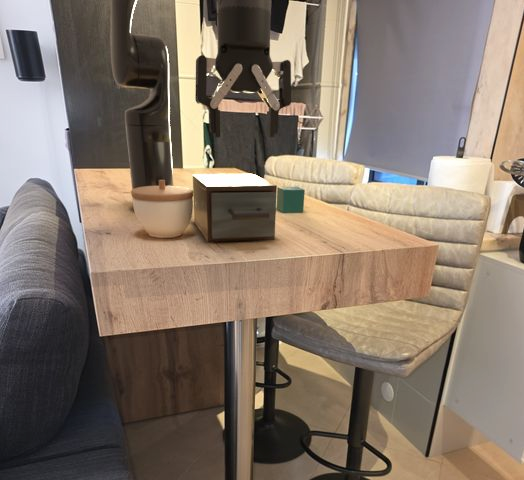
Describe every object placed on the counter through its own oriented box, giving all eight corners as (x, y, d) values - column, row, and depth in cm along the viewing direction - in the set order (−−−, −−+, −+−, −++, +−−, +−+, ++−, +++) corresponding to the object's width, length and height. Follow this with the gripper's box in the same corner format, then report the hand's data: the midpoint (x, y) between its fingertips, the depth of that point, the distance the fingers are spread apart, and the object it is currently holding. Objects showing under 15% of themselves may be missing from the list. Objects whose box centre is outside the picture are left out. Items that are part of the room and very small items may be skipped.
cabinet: (274, 239, 83) (276, 185, 78) (207, 241, 79) (206, 186, 75) (252, 220, 96) (253, 174, 92) (194, 222, 93) (192, 174, 89)
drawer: (283, 243, 76) (285, 197, 73) (218, 246, 74) (217, 198, 70) (253, 219, 93) (254, 181, 90) (199, 220, 90) (198, 181, 87)
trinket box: (132, 229, 86) (126, 176, 82) (187, 226, 90) (185, 175, 85) (139, 243, 77) (134, 185, 73) (200, 239, 81) (199, 183, 77)
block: (276, 208, 109) (277, 186, 107) (296, 208, 110) (297, 186, 108) (283, 212, 105) (284, 190, 103) (303, 212, 106) (304, 189, 104)
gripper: (284, 18, 68) (280, 137, 75) (189, 10, 65) (194, 136, 72) (301, 7, 62) (295, 139, 69) (196, -2, 58) (201, 137, 65)
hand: (243, 137), depth 70 cm, fingers open, 8 cm apart
